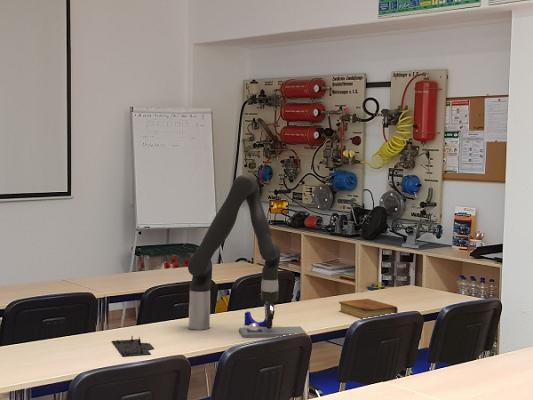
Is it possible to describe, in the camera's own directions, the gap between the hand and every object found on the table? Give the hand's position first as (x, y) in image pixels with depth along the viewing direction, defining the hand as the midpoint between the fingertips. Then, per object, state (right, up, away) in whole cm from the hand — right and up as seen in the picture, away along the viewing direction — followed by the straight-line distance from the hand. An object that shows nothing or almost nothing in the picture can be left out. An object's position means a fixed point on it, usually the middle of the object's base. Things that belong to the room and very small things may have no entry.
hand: (269, 328), depth 367 cm
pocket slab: (+1, -3, 0) cm, 3 cm away
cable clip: (-5, -2, +16) cm, 17 cm away
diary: (+49, -1, +45) cm, 66 cm away
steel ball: (-7, 0, -1) cm, 7 cm away
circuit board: (-55, -4, -28) cm, 62 cm away
